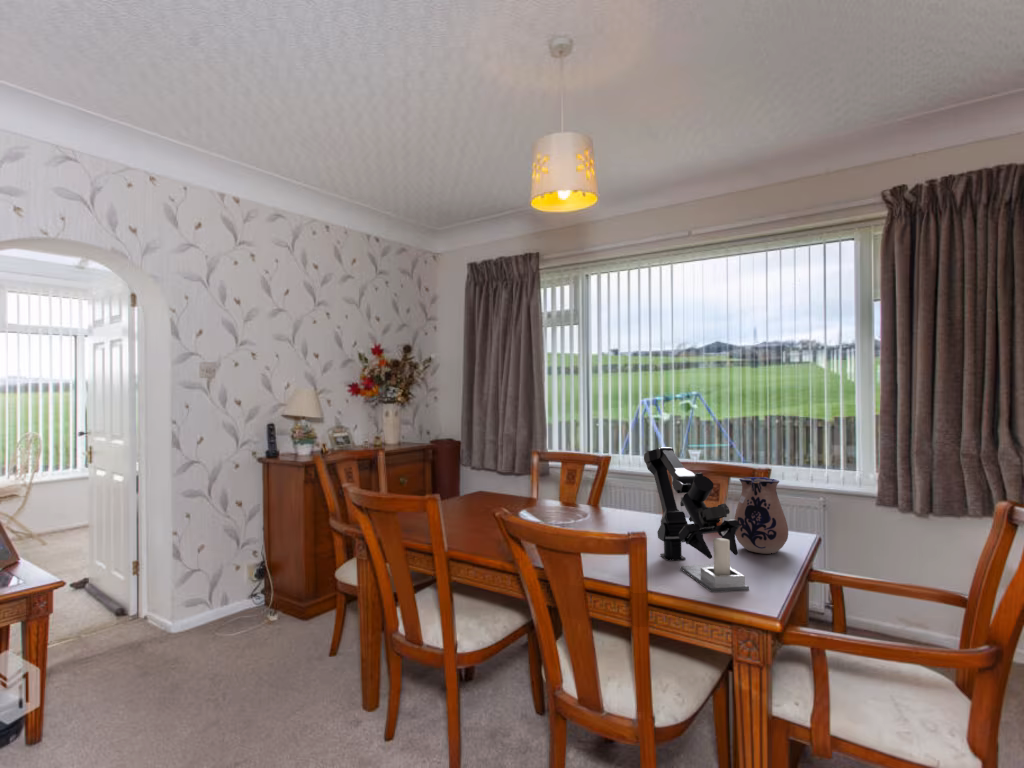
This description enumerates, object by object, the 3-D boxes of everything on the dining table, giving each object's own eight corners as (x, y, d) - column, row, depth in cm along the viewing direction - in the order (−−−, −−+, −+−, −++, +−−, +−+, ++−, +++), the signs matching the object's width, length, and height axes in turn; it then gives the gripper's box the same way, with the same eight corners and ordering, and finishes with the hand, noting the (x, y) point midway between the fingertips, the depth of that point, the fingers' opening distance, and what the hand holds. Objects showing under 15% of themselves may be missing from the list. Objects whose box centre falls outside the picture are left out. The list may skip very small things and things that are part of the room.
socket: (680, 569, 173) (680, 556, 173) (713, 567, 175) (713, 554, 175) (711, 592, 153) (711, 577, 153) (748, 590, 154) (748, 575, 154)
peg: (712, 579, 161) (711, 538, 161) (727, 579, 160) (726, 538, 160) (716, 584, 156) (715, 541, 157) (732, 584, 156) (731, 542, 156)
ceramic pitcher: (731, 554, 189) (730, 481, 190) (737, 539, 208) (736, 473, 209) (788, 560, 181) (786, 484, 182) (789, 545, 200) (788, 476, 200)
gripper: (684, 496, 160) (711, 544, 149) (735, 492, 166) (764, 537, 156) (667, 518, 167) (692, 565, 156) (717, 513, 173) (744, 558, 163)
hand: (724, 556), depth 157 cm, fingers open, 9 cm apart
